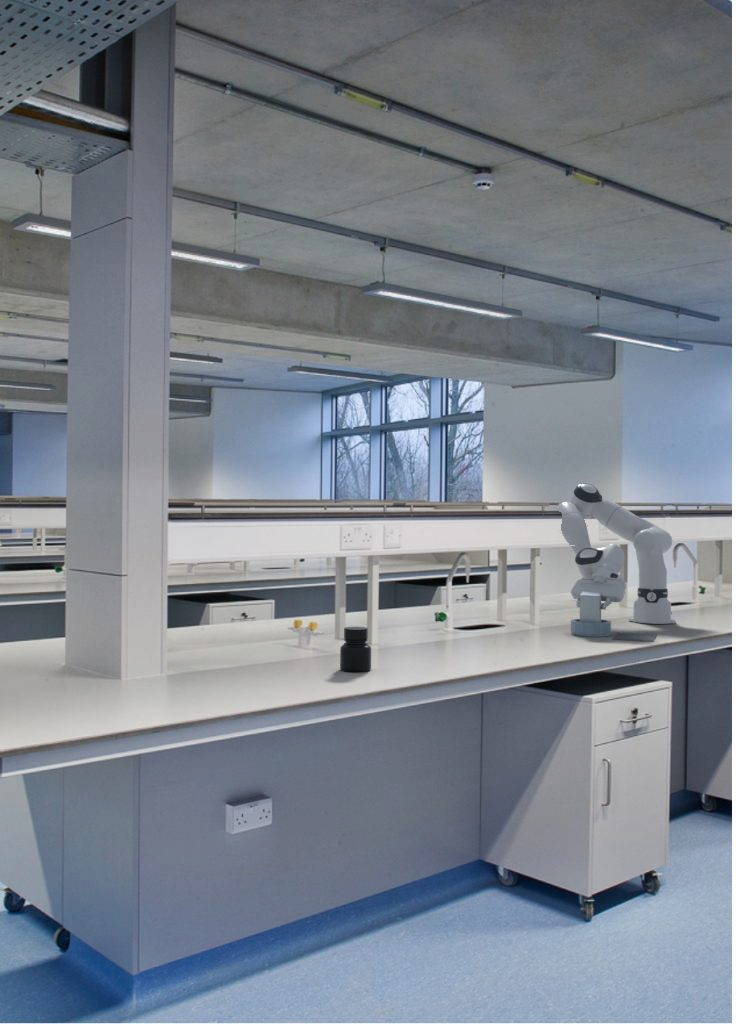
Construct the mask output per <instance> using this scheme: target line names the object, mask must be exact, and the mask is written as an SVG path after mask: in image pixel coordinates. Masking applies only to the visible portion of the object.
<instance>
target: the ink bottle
mask: <svg viewBox="0 0 736 1024" xmlns="http://www.w3.org/2000/svg"><path fill="white" fill-rule="evenodd" d="M343 630H344V631H343V639H344V643H343V644H342V645H341V646H340V650H339V651H340V654H339V655H340V656H339V658H340V659H339V660H340V661H339V669H340V670H341V671H343V672H349V673H363V672H369V671H370V670H371V669H372V646H371V645H369V643H367V642H368V638H369V637H368V634H369V632H368V631H369V629H368V627H366V626H347V627H344V628H343Z"/></svg>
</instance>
